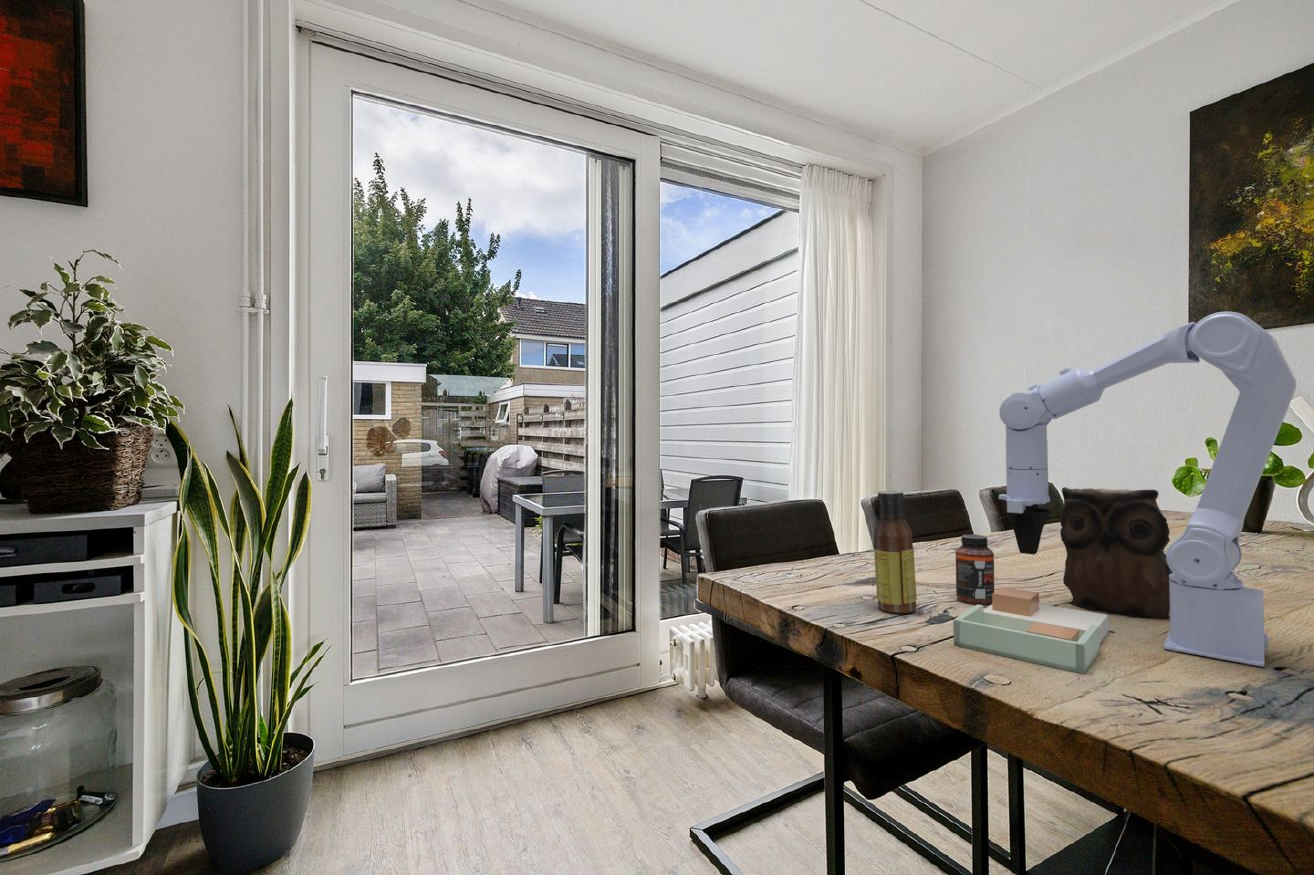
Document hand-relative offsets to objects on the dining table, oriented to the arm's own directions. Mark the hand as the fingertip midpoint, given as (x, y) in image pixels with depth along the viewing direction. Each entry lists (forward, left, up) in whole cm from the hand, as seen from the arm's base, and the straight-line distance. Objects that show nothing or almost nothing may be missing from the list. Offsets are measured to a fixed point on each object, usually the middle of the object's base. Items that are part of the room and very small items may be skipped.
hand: (1028, 553), depth 96 cm
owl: (-10, -14, -10) cm, 20 cm away
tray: (-4, +17, -10) cm, 20 cm away
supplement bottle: (+9, -3, -10) cm, 14 cm away
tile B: (0, +8, -7) cm, 11 cm away
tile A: (-7, +17, -9) cm, 20 cm away
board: (-4, +7, -10) cm, 13 cm away
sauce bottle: (+17, +11, -10) cm, 23 cm away
